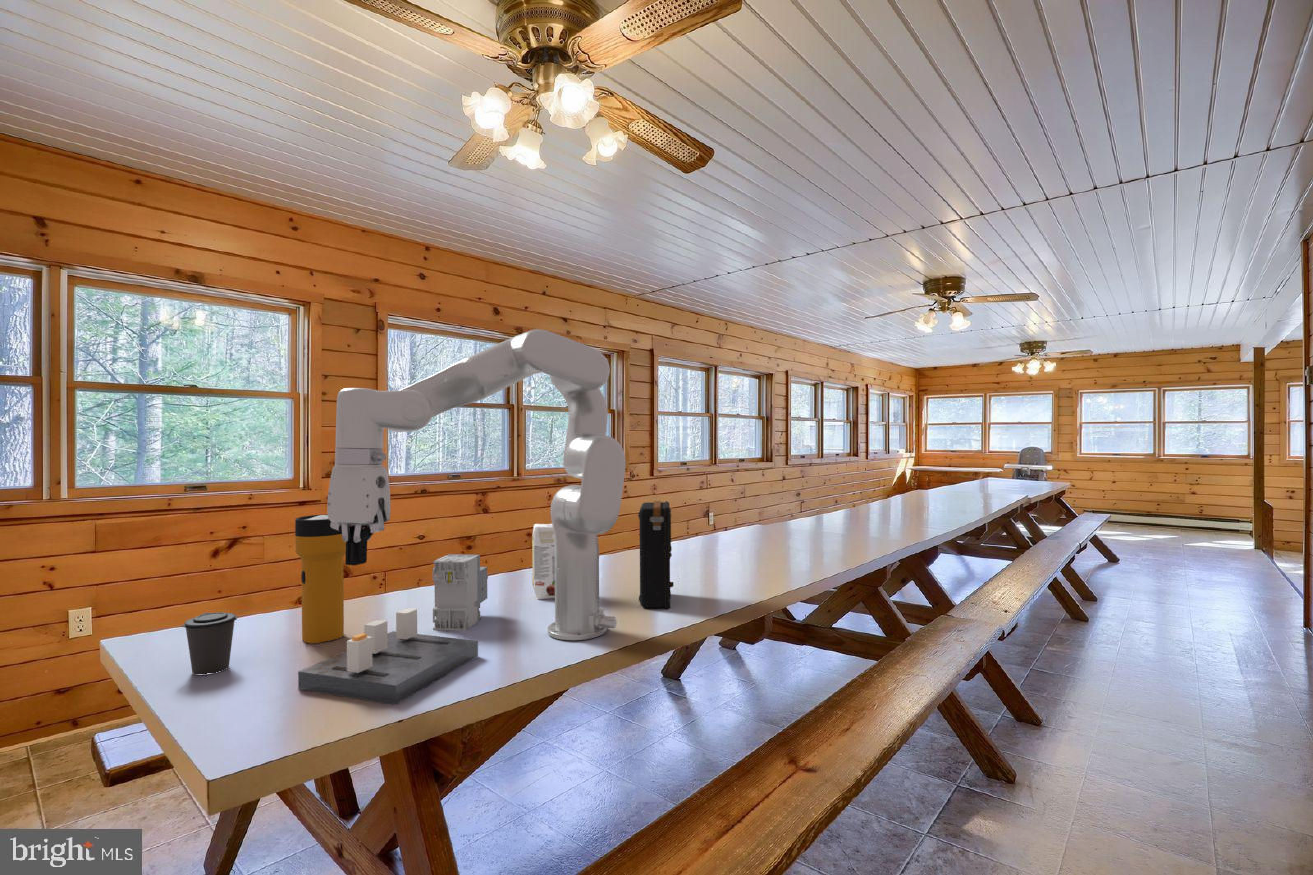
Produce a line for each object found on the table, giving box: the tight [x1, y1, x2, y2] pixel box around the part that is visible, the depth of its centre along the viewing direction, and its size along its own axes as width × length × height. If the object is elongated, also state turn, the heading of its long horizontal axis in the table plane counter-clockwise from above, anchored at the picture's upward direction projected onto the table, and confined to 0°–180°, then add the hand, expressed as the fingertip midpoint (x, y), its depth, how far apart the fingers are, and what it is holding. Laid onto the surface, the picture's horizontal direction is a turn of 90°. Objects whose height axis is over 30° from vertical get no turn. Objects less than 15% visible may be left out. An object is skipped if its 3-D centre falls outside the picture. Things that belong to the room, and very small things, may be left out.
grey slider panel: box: [297, 630, 479, 705], centre depth 109 cm, size 20×22×3 cm
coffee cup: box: [182, 611, 238, 674], centre depth 110 cm, size 8×8×10 cm
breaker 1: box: [363, 619, 388, 654], centre depth 110 cm, size 2×3×5 cm
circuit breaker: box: [432, 553, 489, 631], centre depth 140 cm, size 8×14×15 cm, turn 174°
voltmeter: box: [637, 500, 674, 610], centre depth 155 cm, size 16×9×25 cm, turn 179°
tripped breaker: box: [346, 632, 372, 673], centre depth 101 cm, size 2×3×6 cm
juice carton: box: [531, 523, 555, 600], centre depth 161 cm, size 8×9×19 cm
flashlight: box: [294, 513, 346, 644], centre depth 128 cm, size 10×26×10 cm
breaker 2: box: [395, 607, 418, 639], centre depth 118 cm, size 2×3×5 cm
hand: (356, 563), depth 106 cm, fingers closed
